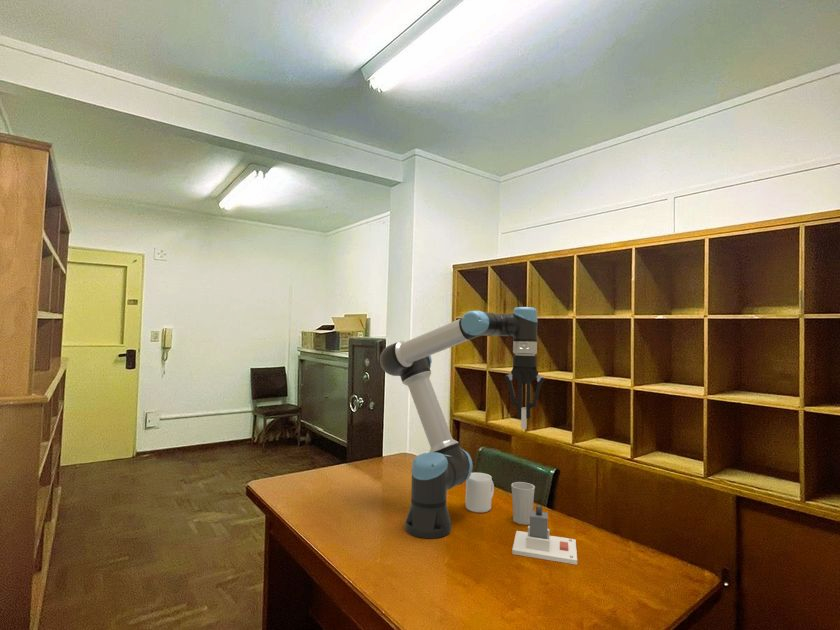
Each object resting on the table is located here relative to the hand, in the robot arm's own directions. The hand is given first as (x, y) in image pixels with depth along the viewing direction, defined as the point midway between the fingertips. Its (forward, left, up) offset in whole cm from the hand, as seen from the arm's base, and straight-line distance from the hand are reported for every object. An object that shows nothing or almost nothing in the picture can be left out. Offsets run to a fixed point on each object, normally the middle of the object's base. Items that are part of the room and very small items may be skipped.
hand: (523, 428), depth 144 cm
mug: (-17, +21, -35) cm, 44 cm away
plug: (+5, -5, -34) cm, 35 cm away
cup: (-1, +14, -35) cm, 37 cm away
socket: (+7, -5, -34) cm, 35 cm away
